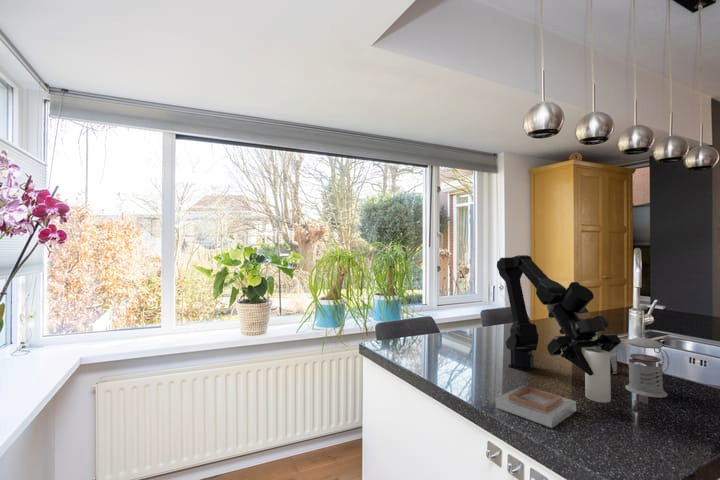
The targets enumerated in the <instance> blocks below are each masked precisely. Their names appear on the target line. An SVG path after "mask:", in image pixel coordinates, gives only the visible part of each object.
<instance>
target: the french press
mask: <svg viewBox="0 0 720 480" xmlns="http://www.w3.org/2000/svg"><path fill="white" fill-rule="evenodd" d="M648 308H649V307H648V305H646V304H641V305H639V309H640V310H642V311H643V313H642V314H643V317H645V310H649V309H648ZM645 323H646V321H645V319H643V337H635V338H631V339H628V340H627V342H628V343H627V344H628V345H631V346H633V347H638V348H643V351H644V353H631V354H629V357H630V358H629V359H628V368H629V369H628V381H629V382H628V384H626V385H625V386H624V388H625V390H627V391H629V392H631V393H634V394H636V395H638V396H639V395H640V396H644V397H648V398H649V397H651V398H661V399H663V398H667V397H668V396H669V394H668V393H667V392H666V391H665V390H664V380H663V379H664V378H663V374H664V373H666V372H667V371H668V368H669V365H670V358H669V355H668V353H667V351H666V350H664V349H663V344H662V343H660V342H659V341H657V340H656V339H655V340H654V339H653V338H652V339H651V338H647V337H646V330H645V328H646V327H645ZM646 349H652V350H653V351H654V353H657V354H661V356H662V360H661V358H660V357H658V356H655V355H650V354H647V353H646ZM656 349H657V350H658V351H656ZM662 351H663V352H664V353H665V355H666V358H667V366H666V368H665V370H664V371H663V366H664V364H665V363H664V362H665V356H664V354H663V352H662ZM661 361H662V362H661ZM660 362H661V363H660ZM639 363H640V364H639ZM657 363H658V365H657ZM643 364H644V365H643ZM657 372H658V373H657Z"/></svg>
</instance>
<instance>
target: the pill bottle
mask: <svg viewBox="0 0 720 480" xmlns="http://www.w3.org/2000/svg"><path fill="white" fill-rule="evenodd" d="M609 353H610V360H611V364H612V368H613V373H612V374H613V375H616V374H617V373H618V355H617V353H616V347H615V348H614V349H613V350H612V351H610V352H609ZM612 374H611V375H612Z"/></svg>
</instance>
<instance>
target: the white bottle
mask: <svg viewBox="0 0 720 480" xmlns="http://www.w3.org/2000/svg"><path fill="white" fill-rule="evenodd" d="M585 359H586V361H587V362H588V364H589V366H590V368H591V370H592V372H593V375H591V376H590V375H588V374H587V373H586V372H584V386H585V387H584V388H585V390H584V394H585V395H584V396H585V397H586V398H587V399H589V400H591V401H593V402H598V403H610V402H611V401H612V399H611V398H612V396H611V395H612V394H611V374H610V353H609V352H608V351H605V350H601V347H599V346H593V349H585Z"/></svg>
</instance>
